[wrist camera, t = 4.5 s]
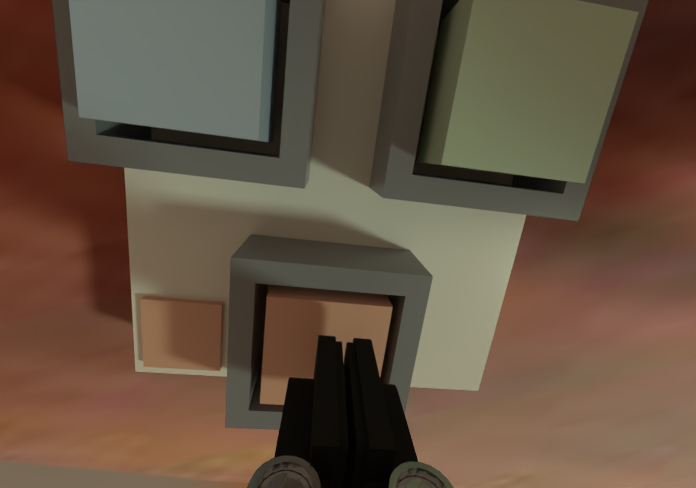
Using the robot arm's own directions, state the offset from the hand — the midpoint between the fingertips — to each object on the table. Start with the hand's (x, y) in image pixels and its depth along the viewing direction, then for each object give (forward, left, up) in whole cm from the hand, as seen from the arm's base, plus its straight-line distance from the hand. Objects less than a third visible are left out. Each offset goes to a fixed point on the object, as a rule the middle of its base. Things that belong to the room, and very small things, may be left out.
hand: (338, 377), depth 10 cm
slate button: (+5, -9, -2) cm, 11 cm away
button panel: (0, -4, -7) cm, 9 cm away
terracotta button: (0, 0, -4) cm, 4 cm away
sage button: (-4, -9, -2) cm, 10 cm away
